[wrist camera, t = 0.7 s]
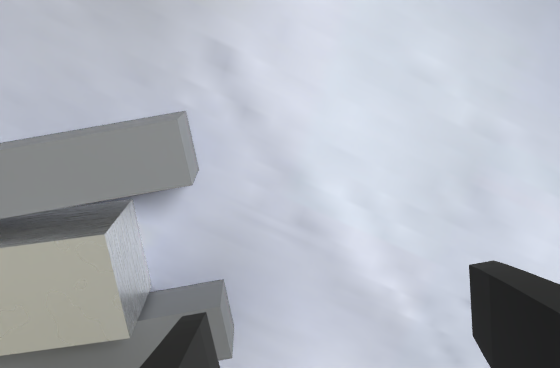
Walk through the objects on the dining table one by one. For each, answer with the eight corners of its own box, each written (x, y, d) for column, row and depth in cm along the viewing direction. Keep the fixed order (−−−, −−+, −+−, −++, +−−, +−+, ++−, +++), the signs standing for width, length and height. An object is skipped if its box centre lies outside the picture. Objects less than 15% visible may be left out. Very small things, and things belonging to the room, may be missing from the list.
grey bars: (234, 326, 21) (232, 357, 19) (-120, 389, 21) (-162, 428, 19) (185, 110, 18) (176, 119, 16) (-225, 182, 18) (-288, 199, 16)
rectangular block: (152, 283, 20) (129, 338, 17) (-78, 314, 20) (-156, 377, 16) (133, 197, 19) (104, 234, 15) (-111, 228, 19) (-203, 274, 15)
